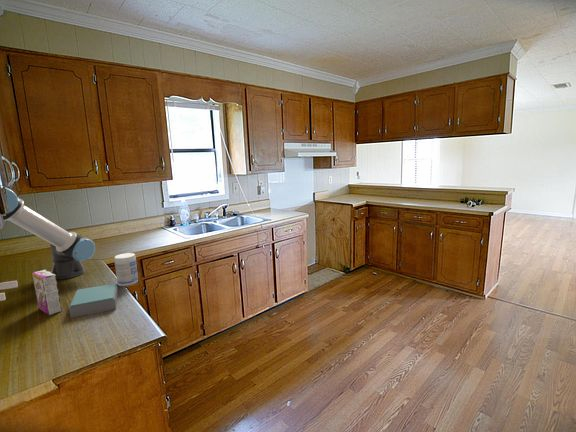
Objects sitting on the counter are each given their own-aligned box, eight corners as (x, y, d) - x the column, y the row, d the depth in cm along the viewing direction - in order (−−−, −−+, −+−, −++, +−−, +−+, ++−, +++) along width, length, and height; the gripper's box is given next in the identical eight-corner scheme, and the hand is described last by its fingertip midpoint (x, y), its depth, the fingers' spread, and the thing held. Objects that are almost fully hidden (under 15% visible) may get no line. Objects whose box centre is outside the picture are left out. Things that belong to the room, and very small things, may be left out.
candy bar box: (37, 309, 131) (31, 272, 128) (51, 304, 135) (45, 268, 132) (48, 316, 124) (41, 278, 121) (62, 311, 129) (56, 274, 126)
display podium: (77, 300, 139) (76, 289, 138) (118, 292, 146) (116, 282, 145) (70, 317, 123) (68, 306, 122) (116, 308, 130) (114, 297, 129)
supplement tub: (137, 285, 154) (133, 257, 151) (115, 288, 151) (112, 259, 148) (139, 278, 163) (136, 251, 160) (119, 281, 160) (116, 253, 157)
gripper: (-44, 297, 125) (22, 287, 134) (-82, 325, 103) (0, 311, 112) (-48, 279, 124) (20, 271, 133) (-87, 304, 102) (-3, 292, 111)
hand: (11, 289), depth 123 cm, fingers open, 13 cm apart
